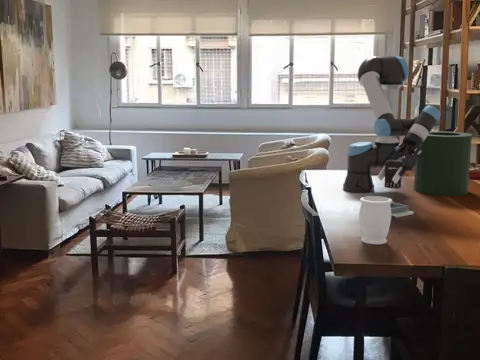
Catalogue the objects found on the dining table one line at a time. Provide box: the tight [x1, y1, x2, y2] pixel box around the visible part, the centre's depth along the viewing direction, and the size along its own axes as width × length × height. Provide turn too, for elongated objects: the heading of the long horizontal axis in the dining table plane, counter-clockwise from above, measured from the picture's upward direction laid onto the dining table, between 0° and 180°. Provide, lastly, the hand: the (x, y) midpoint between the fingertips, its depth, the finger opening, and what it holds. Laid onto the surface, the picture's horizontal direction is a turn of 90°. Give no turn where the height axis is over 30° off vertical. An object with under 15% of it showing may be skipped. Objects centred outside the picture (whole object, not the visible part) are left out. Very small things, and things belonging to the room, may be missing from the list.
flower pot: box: [413, 130, 473, 197], centre depth 286 cm, size 25×25×28 cm
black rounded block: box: [384, 160, 403, 189], centre depth 240 cm, size 7×4×11 cm, turn 70°
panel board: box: [390, 201, 414, 218], centre depth 243 cm, size 14×12×3 cm
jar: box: [358, 195, 393, 246], centre depth 200 cm, size 11×10×15 cm
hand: (386, 179), depth 239 cm, fingers closed on black rounded block, 7 cm apart
